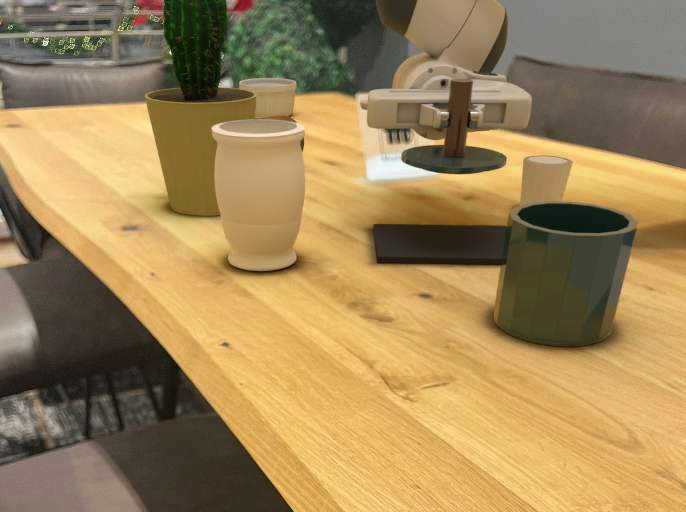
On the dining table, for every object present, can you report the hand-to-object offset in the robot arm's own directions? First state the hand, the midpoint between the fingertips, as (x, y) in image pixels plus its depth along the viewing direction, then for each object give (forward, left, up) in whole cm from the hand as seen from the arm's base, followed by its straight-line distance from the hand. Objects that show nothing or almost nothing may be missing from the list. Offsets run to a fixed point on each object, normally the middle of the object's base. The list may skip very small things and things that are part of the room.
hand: (459, 120), depth 89 cm
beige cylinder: (-16, -19, -15) cm, 29 cm away
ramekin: (+30, -99, -15) cm, 104 cm away
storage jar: (-8, +24, -15) cm, 29 cm away
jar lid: (0, -1, -5) cm, 5 cm away
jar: (+23, +6, -15) cm, 28 cm away
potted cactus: (+33, -19, -15) cm, 41 cm away
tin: (+27, -43, -15) cm, 53 cm away
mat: (0, -1, -15) cm, 15 cm away
